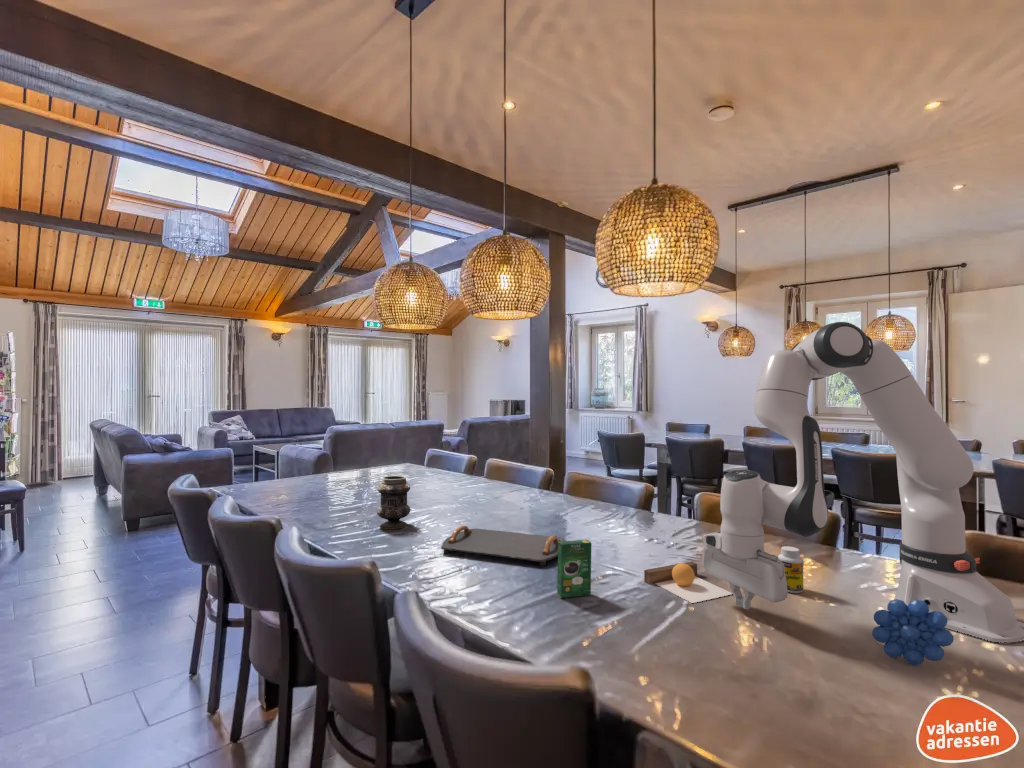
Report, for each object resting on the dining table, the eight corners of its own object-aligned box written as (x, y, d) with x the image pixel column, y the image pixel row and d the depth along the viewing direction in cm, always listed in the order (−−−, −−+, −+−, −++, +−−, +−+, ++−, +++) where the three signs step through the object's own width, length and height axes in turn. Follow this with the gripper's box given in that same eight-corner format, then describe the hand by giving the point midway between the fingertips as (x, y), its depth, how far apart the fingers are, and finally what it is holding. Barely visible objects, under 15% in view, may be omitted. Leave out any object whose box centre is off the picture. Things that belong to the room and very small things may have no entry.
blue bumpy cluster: (955, 666, 90) (954, 599, 90) (953, 683, 85) (952, 612, 85) (875, 644, 98) (875, 582, 98) (870, 658, 93) (869, 593, 93)
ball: (702, 576, 125) (689, 557, 129) (685, 580, 123) (672, 561, 127) (693, 587, 128) (681, 568, 132) (676, 592, 126) (664, 573, 130)
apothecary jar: (417, 524, 186) (417, 476, 187) (393, 532, 176) (393, 481, 176) (393, 520, 193) (393, 473, 193) (369, 527, 183) (369, 478, 183)
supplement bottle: (777, 591, 124) (777, 549, 124) (778, 583, 129) (777, 543, 129) (803, 595, 121) (803, 553, 121) (803, 587, 126) (803, 547, 126)
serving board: (431, 555, 153) (431, 535, 153) (465, 535, 174) (465, 517, 175) (553, 572, 139) (553, 549, 139) (573, 547, 160) (573, 528, 161)
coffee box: (587, 591, 124) (587, 538, 124) (592, 595, 121) (591, 541, 122) (556, 594, 122) (556, 540, 122) (560, 599, 119) (560, 544, 120)
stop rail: (697, 574, 135) (697, 563, 135) (649, 584, 128) (649, 572, 128) (691, 572, 137) (691, 561, 137) (644, 581, 130) (644, 570, 130)
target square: (733, 594, 122) (733, 593, 122) (692, 603, 117) (692, 603, 117) (694, 576, 134) (694, 575, 134) (655, 584, 128) (655, 583, 128)
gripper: (794, 556, 103) (795, 623, 103) (717, 530, 122) (718, 587, 122) (772, 560, 101) (773, 629, 101) (697, 533, 120) (698, 592, 119)
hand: (742, 606), depth 111 cm, fingers closed
